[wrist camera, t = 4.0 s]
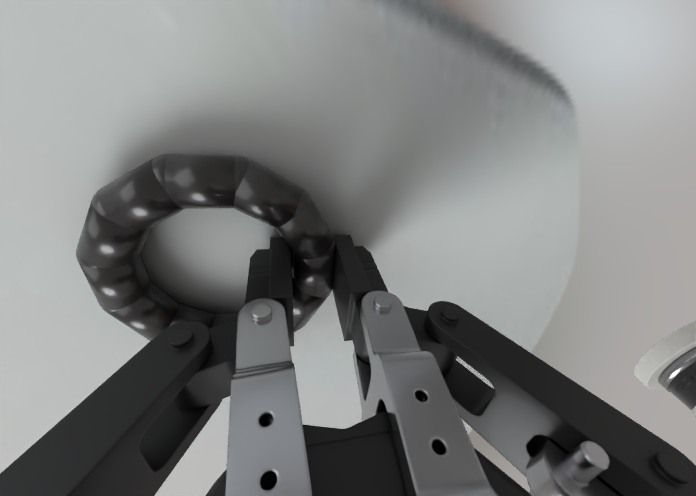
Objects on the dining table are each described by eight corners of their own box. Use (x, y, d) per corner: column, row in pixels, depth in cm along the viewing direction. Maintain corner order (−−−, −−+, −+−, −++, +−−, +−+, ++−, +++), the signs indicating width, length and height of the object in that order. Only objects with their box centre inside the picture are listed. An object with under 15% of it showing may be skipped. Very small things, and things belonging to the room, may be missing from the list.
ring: (338, 152, 10) (348, 168, 9) (326, 322, 15) (331, 348, 14) (49, 142, 8) (8, 160, 7) (136, 338, 13) (121, 371, 12)
